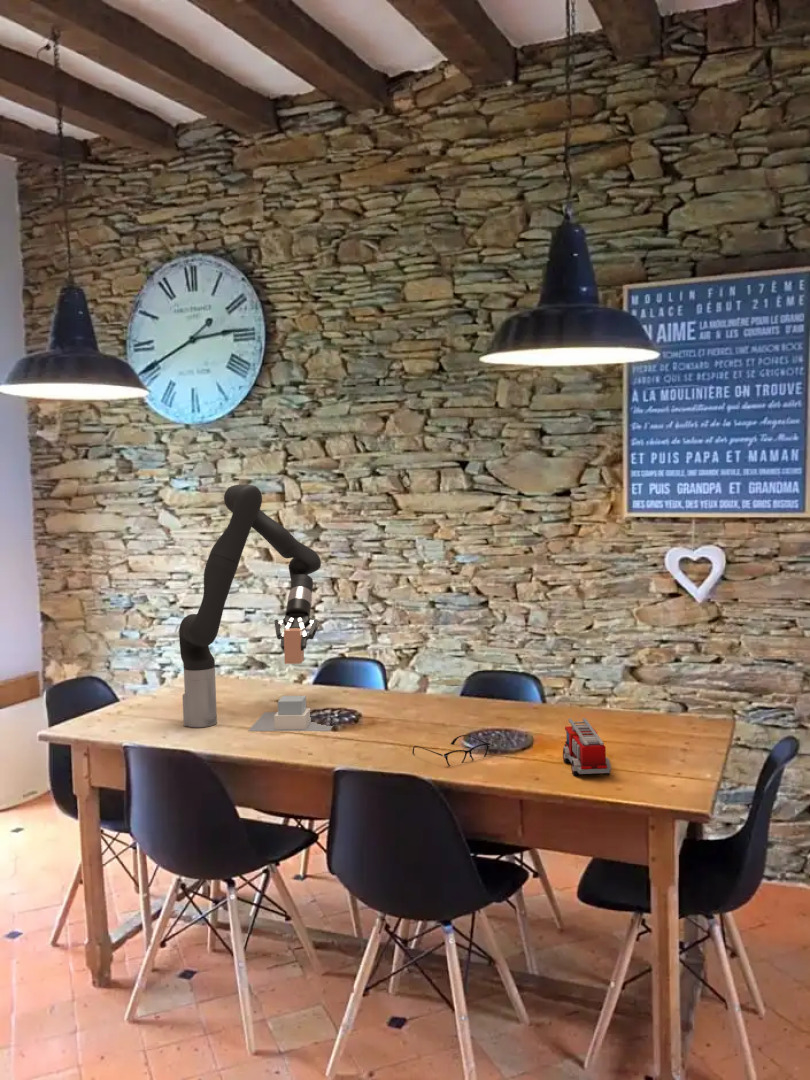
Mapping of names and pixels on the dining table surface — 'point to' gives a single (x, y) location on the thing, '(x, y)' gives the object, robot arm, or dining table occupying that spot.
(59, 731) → the dining table surface
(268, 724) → the baseplate
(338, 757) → the dining table surface
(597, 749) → the toy fire truck
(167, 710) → the dining table surface
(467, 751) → the eyeglasses
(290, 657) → the terracotta brick
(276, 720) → the tower base
